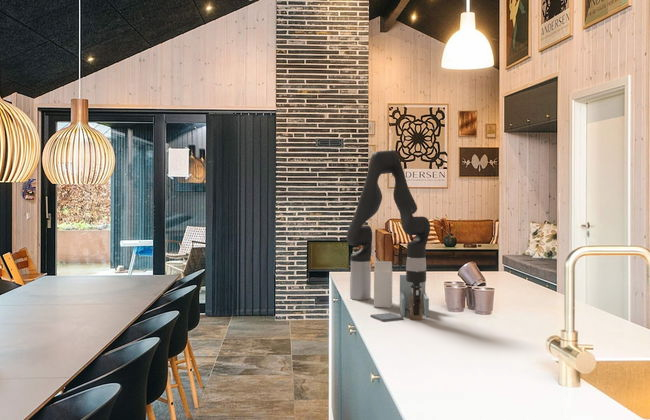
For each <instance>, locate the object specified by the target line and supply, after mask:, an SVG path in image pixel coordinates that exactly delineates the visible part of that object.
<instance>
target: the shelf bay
mask: <svg viewBox="0 0 650 420" xmlns="http://www.w3.org/2000/svg"><path fill="white" fill-rule="evenodd" d="M412 284H413V282H407V281H406V274H399V312H400V316H401V317H403V318H405V315H406V313H405V312H406V311H405V310H410V294H411V286H412ZM420 286H421V287H422V291H421V294H422V313H423V314H424V317H425V318H430V317H429V316H430V314H429V312H430V310H429V309H430V308H429V307H430V306H429V305H430V298H429V297H428V295H427V293H426V282H423V283H420Z"/></svg>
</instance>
